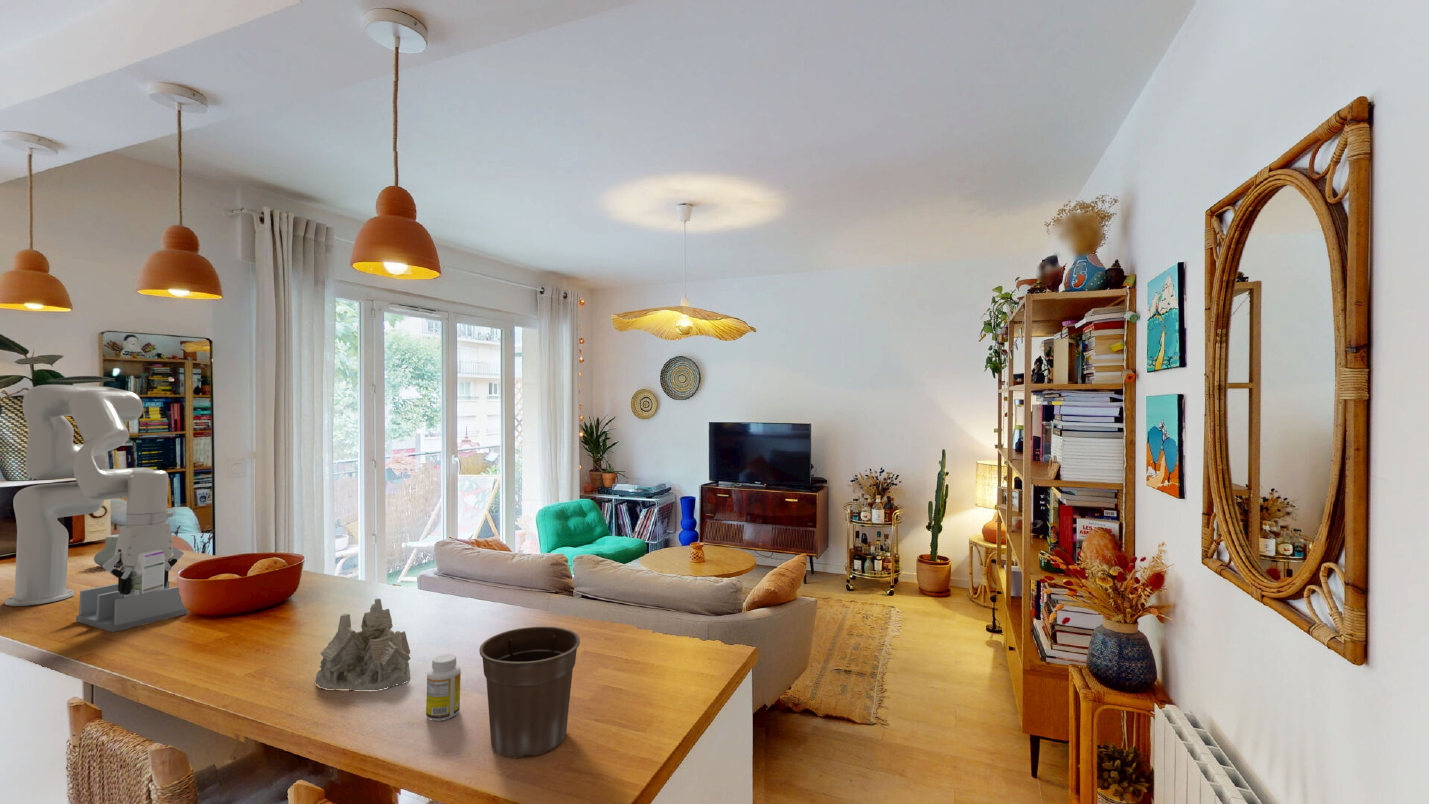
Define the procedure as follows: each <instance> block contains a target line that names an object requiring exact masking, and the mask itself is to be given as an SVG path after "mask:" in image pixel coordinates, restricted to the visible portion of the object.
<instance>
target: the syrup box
mask: <svg viewBox="0 0 1429 804" xmlns="http://www.w3.org/2000/svg"><path fill="white" fill-rule="evenodd" d="M164 572H165V555H164V553H163V551H162V550H159V549H157V550H151V551H147V552H143V553H140V554H138V561H137V566H135V567H133V569H132V571H131V572H130V574H129V576H128V578H130V579H131V584H130V594H128V595H124V594H122V598H125V597H130V596H134V595H139V594H144V593H149V592H153V591H158V590H163V589H164Z"/></svg>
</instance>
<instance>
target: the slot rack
mask: <svg viewBox="0 0 1429 804" xmlns="http://www.w3.org/2000/svg"><path fill="white" fill-rule="evenodd" d="M178 586H179V585H177V586H174V587H170V581H169V580H168V582H167V585H166V587H164V589H163V590H158V591H153V592H149V593H144V594H139V595H134V596H130V597H125V598H122V594H120V592H119V591H118V583H114V584H109V585H108V584H107V585H103V586H97V587H93V588H87V589H82V590H80V591H79V608H78V614H77V615H76V616H75V622H76V621H77V622H76V623H79V622H80V624H83V623H84V625H86V624H87V625H86V626H91V627H93V626H95V627H94V628H96V627H98V628H97V629H100V630H103V629H105V630H104V631H107V630H108V631H107V632H110V633H116V632H120V631H124V630H123V629H125V630H129V629H133V628H135V627H134V626H137V627H140V625H141V626H144V625H143V624H145V625H147V624H146V623H149V624H151V623H152V622H153V623H155V621H157V622H159V621H158V620H161V621H165V620H167V619H166V618H169V619H172V617H173V618H175V616H177V617H180V616H179V615H181V616H184V614H185V615H188V614H189V610H188V611H187V609H186V608H185V607H184V605H183V603H182V601H181V596H180V594H179V588H178ZM164 619H165V620H164ZM153 623H152V624H153ZM132 627H133V628H132Z"/></svg>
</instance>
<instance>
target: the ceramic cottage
mask: <svg viewBox="0 0 1429 804" xmlns="http://www.w3.org/2000/svg"><path fill="white" fill-rule="evenodd" d="M361 620H362V622H361V625H360V628H361V630H360V631H357V632H356V631H355V630H353V629H352V623H351V621H352V620H351V615H350V613H343V614H340V618H339V622H338V625H337V626H338V627H337V632H336V633H335V635H333V636H334V637H333V638H332V639H331V641H329V643H328V644H327V646H325V648H324V649H323V650H322V651H321V652H319V653H320V654H319V655H321V657H322V659H321V661H320V665H319V667H320V669H319V670H318V671H317V673H316V677H315V680H314V682H316V684H318V685H319V686H320V687H323V688H327V689H349V690H350V689H351V690H379V689H384V688H387V687H391V686H393V685H396V684H402V683H404V682H406V681H408V680H409V679H410V680H411V677H410V676H411V670H410V663H409V661H410V660H411V657H410V654H411V650H410V646H409V642H408V639H407V633H406V631H405V630H404V631H399V630H397V631H395V632H394V631H393V630H392V628H393V623H392V622H393V620H392V616H391V612H390V609H389V608H386V609H383V604H382V600H381V598H375V599H374V603H372V604H371V606H370V610H369V611H368V612H364V614H363V617H362V619H361ZM410 680H409V681H410ZM409 681H408V682H409ZM406 683H407V682H406ZM404 684H405V683H404ZM402 685H403V684H402ZM393 687H394V686H393ZM391 688H392V687H391Z"/></svg>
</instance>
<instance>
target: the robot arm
mask: <svg viewBox="0 0 1429 804" xmlns="http://www.w3.org/2000/svg"><path fill="white" fill-rule="evenodd" d="M22 411H23V415H24V418H25V421H26V426H27V440H26V441H27V442H26V451H25V452H26V453H25V463H24V465H25V473H26V474H27V476H28V477H29V478H31V479H35V480H60V479H61V480H62V479H75V481H74V482H73V481H72V482H71V481H70V482H57V483H55V482H53V483H44V484H43V483H42V484H34V485H31V486H27V487H24V488H21V489H20V490H19V491H17V492H16V494H15V495H14V496H13V501H12V503H13V506H12V507H13V510H14V515H15V520H16V532H17V533H16V554H15V555H16V556H15V557H16V558H15V573H14V574H15V575H14V576H15V577H14V595H12V596H9V597H8V598H6V599H5V600H4V601H5V602H4V604H5V605H6V606H9V607H25V606H26V607H27V606H35V605H43V604H48V603H53V602H59V601H62V600H66V599H68V598H71V597H73V596H74V595H75V591H74V590H73V589H72V588H67V576H68V575H67V574H68V561H69V560H68V557H69V554H68V553H69V532H68V529H67V528H66V527H65V526H64V525H63V524H62V522H60V521H59V520H58V519H59V518H64V517H65V518H66V517H72V516H73V517H75V516H82V515H90V514H93V513H96V512H98V511H100V509H101V508H102V507H103V505H104V502H105V500H113V499H114V500H115V499H124V498H126V508H125V509H126V515H125V525H122V526H121V527H120V529H119V531H118V534H119V535H118V539H117V543H116V549H115V555H114V556H113V557H112V558H111V559H109V560H108V561H107V562H106V563H105V564H103V565H102V566H101V567H102V568H103V570H105V571H107V572H108V573H109V574H111V575H112V576H114V577H116V578H118V579H117V581H118V583H117V584H118V591H119V592H120V594H124V595H128V594H130V584H131V579H130V578H128V576H129V574H130V572H131V571H132V569H133V567H135V566H137V561H138V554H140V553H143V552H147V551H151V550H157V549H159V550H162V551H163V553H164V555H165V572H164V587H166V585H167V582H168V581H169V571H171V570H172V568H173V566H174V565H175V564H177V562H178V561H179V560H180V559H181V558H182V556H183V555H184V551H182V550H181V549H179V548H177V547H175V546H173V534H172V528H171V525H170V522H168V519H169V518H172V517H173V516H174V513H173V512H172V511H170V512H169V511H168V497H169V496H168V493H169V474H168V472H167V471H165V470H163V469H162V470H161V469H160V470H159V469H152V468H149V467H130V468H129V467H126V468H110V469H109V468H108V463H109V462H108V457H107V452H109V451H113V450H115V449H117V448H119V447H121V446H123V445H124V444H126V443H127V442H128V441H129V439H130V432H129V430H128V429H127V427H126V424H125V422H134V421H137V420H138V419H140V417H141V416H142V414H143V412H144V404H143V401H142V399H141V398H140V396H139V395H137V394H136V393H134V392H132V391H130V390H125V389H120V388H115V387H111V386H100V385H99V386H97V385H96V386H94V385H93V386H92V385H76V384H74V385H72V384H41V385H36V386H33V387H31V388H29V389H28V390H27V391H26V392H25V394H24V397H23V398H22ZM65 416H67V417H72V418H73V421H74V423H75V425H76V427H77V429H78V431H79V433H80V434H79V435H80V436H81V437H82V440H83V441H84V443H80V444H79V443H78V444H76V443H75V444H74V433H75V429H74V427H73V425H72V423H71V422H70V421H69V420H68V419H67V418H66V417H65ZM114 565H119V566H120V567H119V569H118V568H117V567H114Z"/></svg>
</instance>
